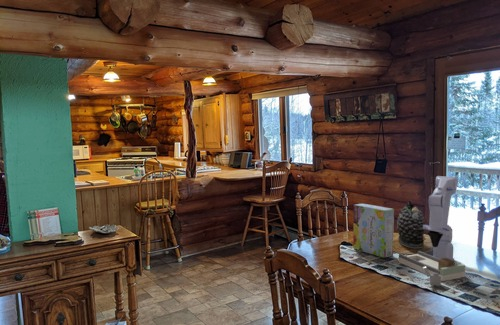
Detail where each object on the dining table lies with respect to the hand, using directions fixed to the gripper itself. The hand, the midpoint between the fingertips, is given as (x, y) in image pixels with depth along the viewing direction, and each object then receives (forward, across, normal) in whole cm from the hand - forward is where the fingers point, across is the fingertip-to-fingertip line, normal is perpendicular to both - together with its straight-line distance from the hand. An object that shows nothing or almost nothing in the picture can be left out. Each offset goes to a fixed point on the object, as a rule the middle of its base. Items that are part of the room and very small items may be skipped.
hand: (435, 246), depth 195 cm
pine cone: (+10, -34, +16) cm, 39 cm away
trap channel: (+10, +1, -4) cm, 11 cm away
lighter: (+11, +16, -18) cm, 26 cm away
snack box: (+10, -31, -12) cm, 35 cm away
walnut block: (+8, +11, -4) cm, 14 cm away
